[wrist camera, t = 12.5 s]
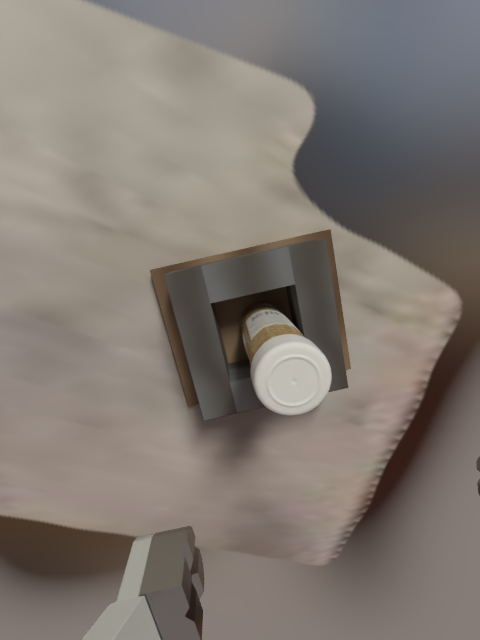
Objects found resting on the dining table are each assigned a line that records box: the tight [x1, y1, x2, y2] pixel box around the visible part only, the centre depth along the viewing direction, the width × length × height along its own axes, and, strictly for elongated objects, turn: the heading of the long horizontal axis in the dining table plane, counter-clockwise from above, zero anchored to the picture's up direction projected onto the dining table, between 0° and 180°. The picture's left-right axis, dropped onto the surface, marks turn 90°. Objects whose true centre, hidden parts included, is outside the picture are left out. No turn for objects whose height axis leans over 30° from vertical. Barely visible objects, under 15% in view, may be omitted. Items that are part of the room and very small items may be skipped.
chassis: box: [150, 230, 351, 421], centre depth 29 cm, size 17×14×6 cm
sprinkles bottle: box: [240, 303, 332, 416], centre depth 24 cm, size 5×5×13 cm
